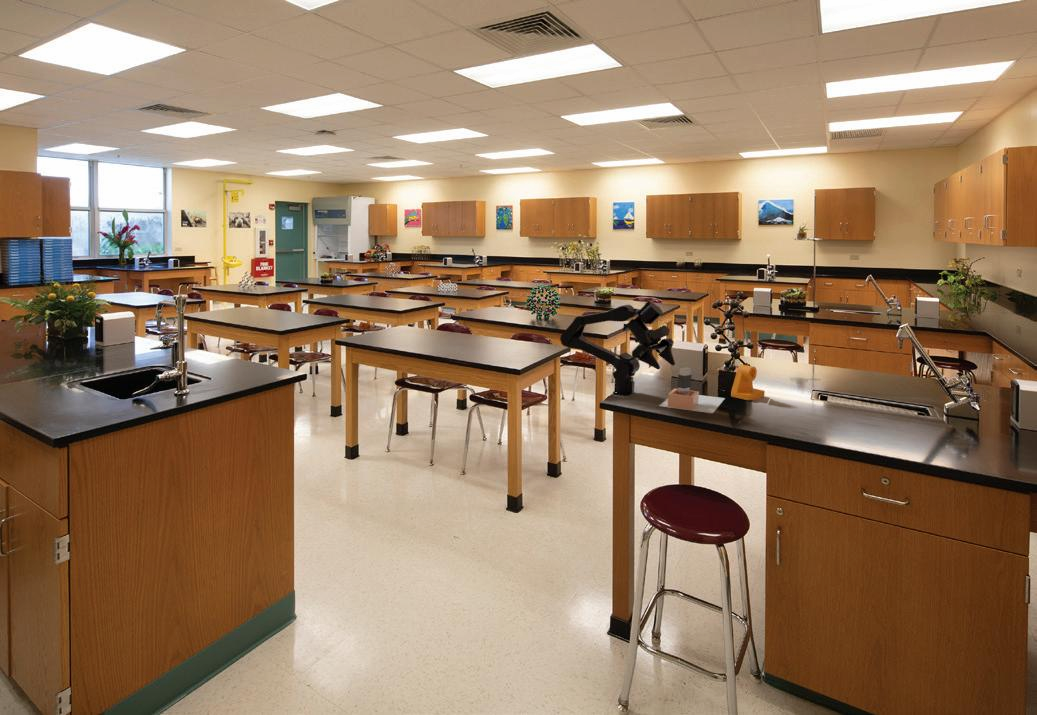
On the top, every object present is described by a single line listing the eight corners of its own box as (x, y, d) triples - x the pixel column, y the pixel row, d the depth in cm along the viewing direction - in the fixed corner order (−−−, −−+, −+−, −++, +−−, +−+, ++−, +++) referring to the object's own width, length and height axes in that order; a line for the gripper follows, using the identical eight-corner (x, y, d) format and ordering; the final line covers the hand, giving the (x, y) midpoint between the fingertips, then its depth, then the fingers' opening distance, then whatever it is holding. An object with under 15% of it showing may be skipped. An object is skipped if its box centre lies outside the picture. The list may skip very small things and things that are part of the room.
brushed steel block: (673, 403, 206) (676, 368, 203) (681, 401, 208) (684, 366, 206) (684, 406, 202) (686, 370, 200) (692, 404, 205) (694, 368, 202)
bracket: (748, 402, 210) (751, 369, 208) (730, 398, 216) (733, 366, 214) (765, 398, 217) (767, 366, 215) (747, 394, 222) (749, 362, 220)
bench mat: (658, 406, 204) (658, 405, 204) (675, 393, 223) (675, 392, 223) (712, 414, 196) (712, 413, 196) (725, 399, 215) (725, 398, 215)
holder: (667, 406, 204) (668, 393, 203) (673, 400, 211) (674, 388, 210) (692, 409, 200) (693, 396, 199) (698, 403, 207) (699, 391, 206)
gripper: (639, 320, 203) (666, 356, 197) (670, 316, 216) (696, 349, 210) (620, 341, 210) (645, 376, 204) (651, 335, 223) (675, 368, 217)
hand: (666, 366), depth 209 cm, fingers open, 9 cm apart
